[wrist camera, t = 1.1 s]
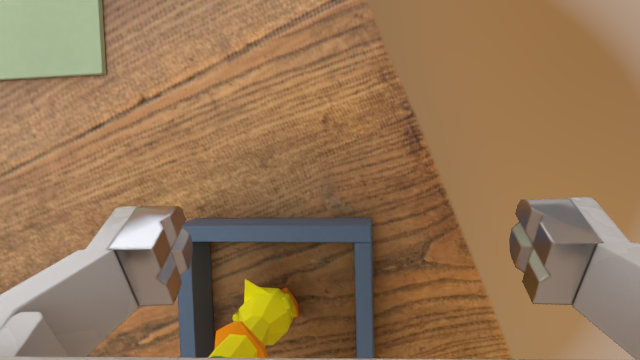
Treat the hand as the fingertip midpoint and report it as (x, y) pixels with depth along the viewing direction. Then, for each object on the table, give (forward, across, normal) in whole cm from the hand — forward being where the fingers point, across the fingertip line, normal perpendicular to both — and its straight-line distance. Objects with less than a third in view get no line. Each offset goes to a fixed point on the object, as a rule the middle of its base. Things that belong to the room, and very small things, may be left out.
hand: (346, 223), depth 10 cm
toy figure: (+11, +4, +16) cm, 20 cm away
